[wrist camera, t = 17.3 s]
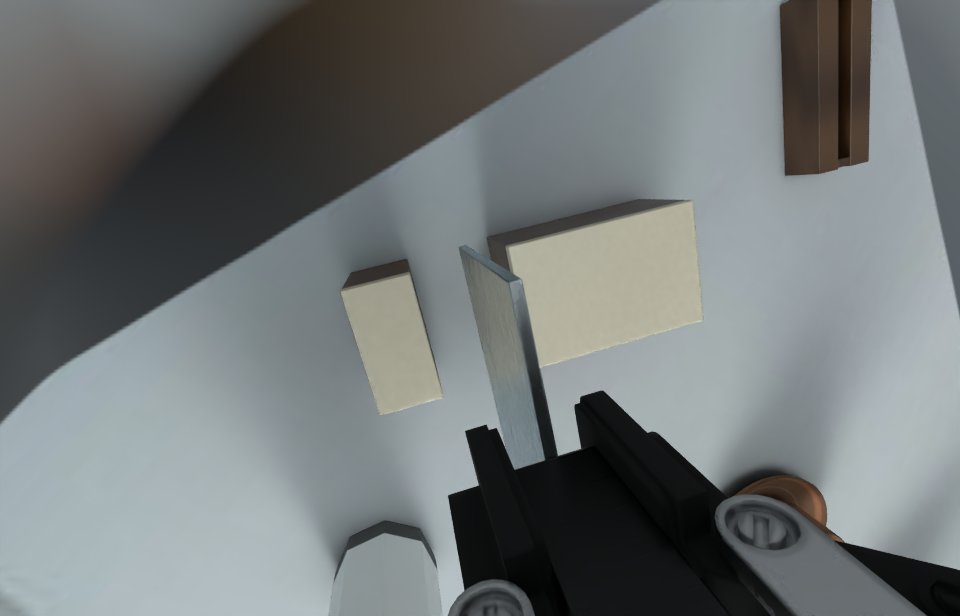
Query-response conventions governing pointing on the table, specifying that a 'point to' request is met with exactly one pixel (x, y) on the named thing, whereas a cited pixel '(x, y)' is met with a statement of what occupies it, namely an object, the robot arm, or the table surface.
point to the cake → (605, 275)
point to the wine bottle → (386, 574)
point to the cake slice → (391, 336)
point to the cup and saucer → (794, 498)
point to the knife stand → (825, 84)
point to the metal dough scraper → (574, 480)
